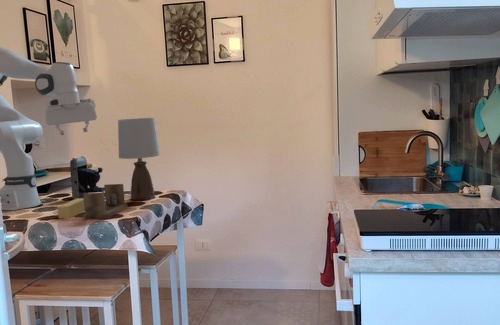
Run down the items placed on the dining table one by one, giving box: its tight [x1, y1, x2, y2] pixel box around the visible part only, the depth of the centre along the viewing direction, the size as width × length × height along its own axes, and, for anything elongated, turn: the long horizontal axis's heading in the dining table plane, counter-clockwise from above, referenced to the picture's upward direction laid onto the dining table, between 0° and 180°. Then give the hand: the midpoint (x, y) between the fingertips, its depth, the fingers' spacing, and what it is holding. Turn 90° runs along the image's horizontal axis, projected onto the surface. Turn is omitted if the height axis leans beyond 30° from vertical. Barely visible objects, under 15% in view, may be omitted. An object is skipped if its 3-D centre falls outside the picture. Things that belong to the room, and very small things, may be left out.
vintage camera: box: [69, 156, 105, 200], centre depth 225 cm, size 10×16×20 cm, turn 80°
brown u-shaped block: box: [82, 183, 128, 220], centre depth 190 cm, size 10×20×10 cm, turn 174°
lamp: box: [117, 117, 161, 201], centre depth 217 cm, size 19×19×37 cm
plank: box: [57, 197, 85, 220], centre depth 192 cm, size 4×16×5 cm, turn 174°
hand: (73, 133), depth 196 cm, fingers open, 8 cm apart
